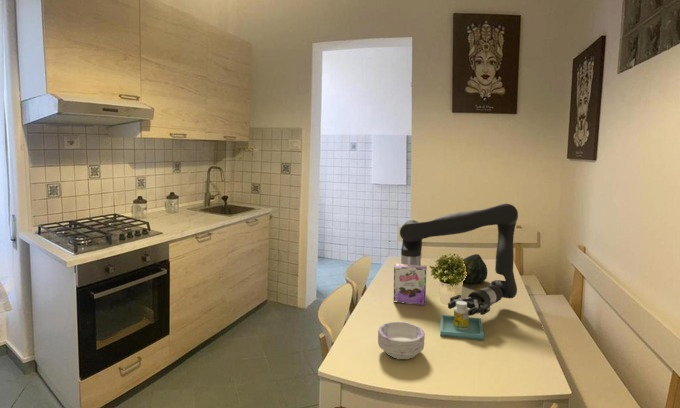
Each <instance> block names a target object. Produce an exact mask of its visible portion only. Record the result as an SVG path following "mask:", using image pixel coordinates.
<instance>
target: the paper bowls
mask: <svg viewBox="0 0 680 408" xmlns="http://www.w3.org/2000/svg"><path fill="white" fill-rule="evenodd" d="M425 335H426V334H425V331H424V330H423V328H421V327H420V326H419V325H417V324H414V323H412V322H411V323H410V322H407V321H397V320H396V321H388V322H385V323H383V324H381V325H380V326H379V327H378V329H377V344H378V347H379V348H380V349H381V350H382V351H384V352H385V353H387V354H388V355H390V356H392V357H394V358H398V359H397V360H399V359H406V360H410V358H411V359H413V358H415V356H417V355H418V354H419V353H421V352H422V351H423V350H424V347H425ZM387 354H386V355H387ZM388 355H387V356H388ZM390 356H389V357H390ZM392 357H391V358H392ZM394 358H393V359H394Z"/></svg>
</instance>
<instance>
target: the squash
mask: <svg viewBox="0 0 680 408" xmlns="http://www.w3.org/2000/svg"><path fill="white" fill-rule="evenodd" d="M462 260H463V261H464V264H465V266H466V272H467V276H466V278H465V280H464V282H463V283H467V284H471V283H474V284H475V283H476V284H478V283H484V282H485V280H487V278H488V267H487V264H486V263H485V261H484V260H483V258H482V257H481V255H480V254H478V253H477V254H476V253H475V254H472V255H468V256H467V257H465V258H464V259H462Z"/></svg>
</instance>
